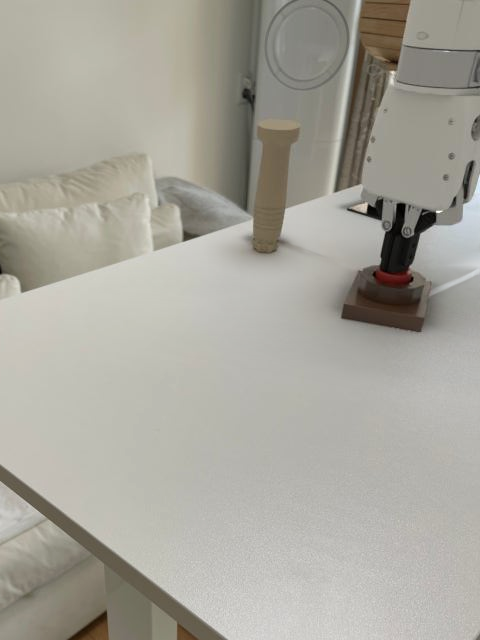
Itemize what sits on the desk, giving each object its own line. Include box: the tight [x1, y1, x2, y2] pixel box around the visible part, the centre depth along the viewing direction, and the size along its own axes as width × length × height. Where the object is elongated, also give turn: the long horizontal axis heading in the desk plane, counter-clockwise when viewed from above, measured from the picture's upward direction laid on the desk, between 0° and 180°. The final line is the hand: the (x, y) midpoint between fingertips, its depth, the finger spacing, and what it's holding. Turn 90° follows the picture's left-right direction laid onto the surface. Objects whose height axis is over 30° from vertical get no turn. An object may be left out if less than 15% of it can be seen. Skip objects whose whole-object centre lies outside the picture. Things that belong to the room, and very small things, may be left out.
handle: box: [252, 118, 301, 254], centre depth 80 cm, size 5×6×15 cm
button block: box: [340, 264, 432, 333], centre depth 69 cm, size 10×8×4 cm
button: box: [375, 264, 413, 285], centre depth 68 cm, size 4×4×2 cm
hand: (394, 269), depth 68 cm, fingers closed
